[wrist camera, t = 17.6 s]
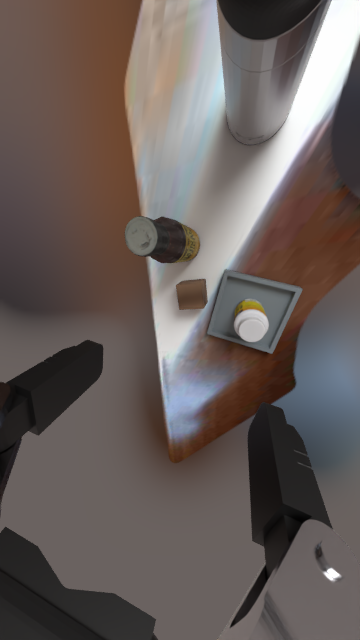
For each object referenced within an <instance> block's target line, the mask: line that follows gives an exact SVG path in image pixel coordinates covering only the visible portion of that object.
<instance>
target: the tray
mask: <svg viewBox="0 0 360 640" xmlns="http://www.w3.org/2000/svg"><path fill="white" fill-rule="evenodd" d="M301 292H302V288H301V287H299V286H294V285H290V284H286V283H282V282H278V281H273V280H269V279H265V278H261V277H256V276H252V275H248V274H244V273H240V272H235V271H231V270H227V269H226V270H225V272H224V276H223V279H222V283H221V286H220V290H219V293H218V297H217V300H216V304H215V307H214V311H213V314H212V318H211V321H210V325H209V328H208V332H207V334H209V335H212V336H216V337H219V338H222V339H226V340H229V341H232V342H235V343H239V344H242V345H245V346H248V347H252V348H255V349H258V350H262V351H265V352H268V353H271V354H272V353H273V351H274V349H275V347H276V345H277V343H278V340H279V338H280V336H281V334H282V332H283V330H284V328H285V326H286V323H287V321H288V319H289V317H290V315H291V313H292V311H293V309H294V306H295V304H296V302H297V300H298V298H299V296H300V294H301ZM245 299H254V300H257V301H258V302H260V303H261V305H262V306H263V309H264V311H265V314H266V316H267V319H268V322H269V327H268V330H267V332H266V334H265V335H264V336H263V338H262V339H260V340H259V341H256V342H247V341H245V340H243V339H242V338H241V337H240V336H239V335H238V334H237V333H236V331H235V329H234V316H235V308H236V306H237V305H238V303H240V302H241V301H243V300H245Z"/></svg>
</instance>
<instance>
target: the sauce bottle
mask: <svg viewBox="0 0 360 640" xmlns="http://www.w3.org/2000/svg"><path fill="white" fill-rule="evenodd" d="M125 241H126V244H127V246H128V248H129V249H130V250H131V251H132V252H133V253H134V254H136V255H138V256H145V257H146V256H150V257H151V258H153V259H155V260H157V261H158V262H161V263H177V262H185V261H189V260H191V259H193V258H194V257H195V256H196V255H197V253H198V251H199V247H200V241H199V237H198V235H197V234H196V232H195V231H194V230H192V229H191V228H189V227H187V226H185V225H183V224H181V223H179V222H178V221H176V220H173V219H169V218H165V217H160V218H158V219H156V220H152V219H150V218H147V217H142V216H139V217H135V218H133V219H132V220H131V221H130V222H129V223H128V224H127V227H126V230H125Z"/></svg>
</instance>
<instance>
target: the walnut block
mask: <svg viewBox="0 0 360 640" xmlns="http://www.w3.org/2000/svg"><path fill="white" fill-rule="evenodd" d="M176 289H177V296H178V302H179V309H180V310H184V309H202V308H204V307H205V306H206V304H207V302H208V300H207V290H206V279H197V280H188V281H182V282H180V283H179V284H177V285H176Z"/></svg>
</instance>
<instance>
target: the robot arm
mask: <svg viewBox="0 0 360 640" xmlns="http://www.w3.org/2000/svg"><path fill="white" fill-rule="evenodd" d="M331 1H332V0H217V11H218V22H219V32H220V43H221V54H222V66H223V77H224V88H225V100H226V111H227V121H228V126H229V129H230V131H231V133H232V135H233V136H234V137H235V138H236V139H237V140H238V141H240V142H241V143H244V144H248V145H255V144H258V143H262V142H264V141H266V140H268V139H269V138H270V137H272V136H273V135H274V134H275V133H276V132H277V131H278V130H279V129H280V127H281V126H282V125H283V123H284V122H285V120H286V118H287V116H288V114H289V111H290V109H291V106H292V104H293V101H294V98H295V96H296V93H297V91H298V88H299V85H300V83H301V80H302V77H303V75H304V72H305V69H306V67H307V64H308V62H309V59H310V56H311V54H312V51H313V48H314V46H315V43H316V40H317V38H318V35H319V32H320V30H321V27H322V24H323V22H324V19H325V17H326V14H327V11H328V9H329V6H330V3H331ZM102 368H103V346H102V345H101V344H98V343H96V342H93V341H90V340H86V341H84V342H82V343H81V344H79V345H77V346H73V347H70V348H66V349H63V350H61V351H59V352H58V353H56V354H54V355H53V356H52V357H49V358H47V359H46V360H44V362H41V363H39V364H37V365H36V366H34V367H32V368H31V369H29V370H27V371H25V372H24V373H22V374H20V375H19V376H17V377H15V378H13V379H12V380H10V381H8V382H7V383H4V382H0V516H1V502H2V497H3V494H4V491H5V488H6V485H7V482H8V479H9V476H10V473H11V470H12V468H13V465H14V462H15V459H16V456H17V453H18V450H19V447H20V444H21V441H22V436H23V435H24V434H25V433H26V432H27V431H30V432H32V433H34V434H36V435H40V434H41V433H42V432H43V431H44V430H45V429H46V428H47V427H48V426H49V425H50V424H51V423H52V422H53V421H54V420H55V419H56V418H57V417H59V416H60V415H61V414H62V413H63V412H64V411H65V410H66V409H67V408H68V407H69V406H70V405H71V404H72V403H73V402H74V401H75V400H77V399H78V398H79V396H81V395H82V394H83V393H84V392H85V391H86V390H87V389H88V388H89V387H90V386H91V385H92V384H93V383H94V382H96V381H97V379H98V378H99V377H100V375H101V373H102ZM248 459H249V480H250V500H251V522H252V541H254V542H256V543H258V544H260V545H262V546H264V548H265V560H266V561H265V563H264V564H263V565H262V567H261V569H260V571H259V572H258V574H257V575H256V577H255V579H254V581H253V582H252V584H251V586H250V587H249V589H248V591H247V592H246V594H245V596H244V597H243V599H242V601H241V602H240V604H239V606H238V607H237V609H236V611H235V612H234V614H233V616H232V618H231V619H230V621H229V622H228V624H227V626H226V627H225V629H224V630H223V632H222V633H221V635H220V636H219V637H218V638H217V640H360V564H359V563H358V561H357V559H356V557H355V555H354V554H353V552H352V551H351V549H350V548H349V547H348V545H347V544H346V543H345V542H344V540H343V539H342V538H341V537H340V536H339V535H338V534H337V533H336V532H335V531H334V530H333V528H332V526H331V523H330V520H329V517H328V514H327V511H326V508H325V505H324V502H323V499H322V496H321V493H320V490H319V488H318V484H317V481H316V478H315V476H314V472H313V470H312V469H311V463H310V460H309V458H308V457H307V451H306V448H305V445H304V442H303V440H302V438H301V437H300V435H299V434H298V432H297V431H296V429H295V428H294V427H293V426H291V425H289V424H287V422H286V419H285V415H284V412H283V410H282V409H281V408H279V407H276V406H273V405H270V404H267V403H265V402H263V403H262V404H261V405H260V407H259V409H258V411H257V413H256V415H255V417H254V419H253V421H252V423H251V425H250V428H249V432H248ZM155 621H156V619H154V618H153V617H152V616H150V615H148V614H147V613H145V612H143V611H142V610H140V609H139V608H137V607H135V606H134V605H132V604H130V603H129V602H127V601H126V600H124V599H122V598H121V597H119V596H117V595H116V594H113V593H104V592H94V591H84V590H74V589H67V588H65V587H64V586H63V585H62V584H61V583H60V581H59V579H58V578H57V576H56V574H55V573H54V571H53V570H52V568H51V566H50V565H49V563H48V562H47V560H46V559H45V557H44V555H43V554H42V553H41V551H40V549H39V548H38V546H36V545H34V544H33V543H31V542H30V541H28V540H26V539H25V538H23V537H21V536H20V535H18V534H17V533H15V532H13V531H12V530H10V529H8V528H7V527H5V528H4V529H3V530H2V531H1V533H0V640H158V639H157V637H156V636H155V635H154V633H153V630H154V626H155Z"/></svg>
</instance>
